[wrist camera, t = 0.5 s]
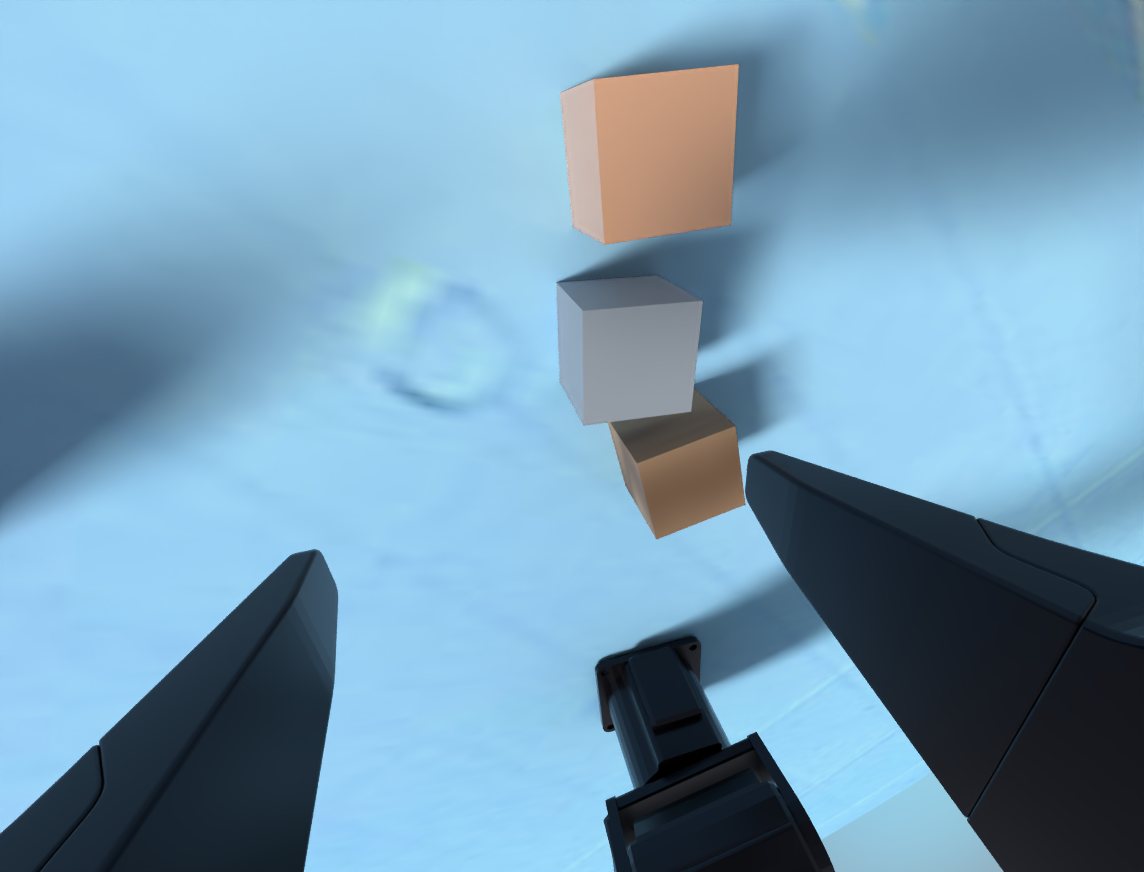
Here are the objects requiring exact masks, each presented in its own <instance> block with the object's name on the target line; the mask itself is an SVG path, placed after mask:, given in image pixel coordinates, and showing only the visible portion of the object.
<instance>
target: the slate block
mask: <svg viewBox="0 0 1144 872" xmlns="http://www.w3.org/2000/svg"><path fill="white" fill-rule="evenodd" d="M556 283H557V315H558V348H559V380H560V383H561V385H562V387H563V389H564V391H565V393H566V394H567V396H568V398H569V400H570V402H571V403H572V405H573V407H574V409H575V411H576V413H577V414H578V416H579V418H580V420H581V422H582V424H583V425H591V424H599V423H607V422H615V421H622V420H630V419H638V418H646V417H654V416H661V415H669V414H677V413H685V412H691V408H692V398H693V389H694V380H695V371H696V362H697V352H698V343H699V334H700V325H701V315H702V306H703V300H701V299H699V298H697V297H696V296H694V295H692V294H690V293H689V292H687V291H685V290H683V289H682V288H680V287H678V286H676V285H674V284H673V283H671V282H669V281H667V280H666V279H664V278H662V277H660V276H659V275H651V276H637V277H623V278H609V279H596V280H582V281H568V282H556Z"/></svg>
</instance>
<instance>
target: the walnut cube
mask: <svg viewBox="0 0 1144 872" xmlns="http://www.w3.org/2000/svg"><path fill="white" fill-rule="evenodd" d="M608 425H609V428H610V432H611V435H612V439H613V443H614V446H615V450H616V453H617V457H618V460H619V464H620V467H621V471H622V474H623V478H624V482H625V485H626V487H627V489H628V491H629V493H630V494H631V496H632V498H633V499H634V501H635V503H636V505H637V506H638V508H639V510H640V512H641V513H642V515H643V517H644V519H645V520H646V522H647V524H648V525H649V527H650V529H651V531H652V532H653V534H654V536H655V538H656V539H659V538H661V537H664V536H666V535H669V534H671V533H674V532H676V531H679V530H682V529H684V528H687V527H689V526H692V525H694V524H697V523H699V522H702V521H704V520H707V519H710V518H712V517H715V516H717V515H720V514H722V513H725V512H727V511H730V510H732V509H735V508H738V507H740V506H743V505H745V498H744V490H743V482H742V474H741V465H740V457H739V449H738V441H737V433H736V426H735V425H734V424H733V423H732V422H731V421H730V420H729V419H727V418H726V417H725V416H724V415H723V414H722V413H721V412H720V411H719V410H718V409H717V408H715V407H714V406H713V405H712V404H711V403H710V402H709V401H708V400H707V399H706V398H704V397H703V396H702V395H701V394H700V393H699V392H698V391H697V390H696V389H695V388H694V389H693V398H692V408H691V412H685V413H677V414H669V415H661V416H654V417H646V418H638V419H630V420H622V421H615V422H608Z"/></svg>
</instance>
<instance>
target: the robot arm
mask: <svg viewBox="0 0 1144 872" xmlns="http://www.w3.org/2000/svg"><path fill="white" fill-rule="evenodd" d="M745 494H746V499H747V501H748V503H749V505H750V507H751V509H752V511H753V512H754V514H755V516H756V518H757V519H758V521H759V523H760V525H761V526H762V528H763V530H764V532H765V533H766V535H767V537H768V539H769V541H770V542H771V544H772V546H773V548H774V549H775V551H776V553H777V555H778V556H779V558H780V560H781V561H782V563H783V565H784V566H785V568H786V569H787V571H788V572H789V574H790V575H791V577H792V578H793V579H794V581H795V582H796V584H797V585H798V586H799V588H800V589H801V591H802V592H803V593H804V595H805V596H806V597H807V599H808V600H809V602H810V603H811V604H812V606H813V607H814V609H815V610H816V611H817V613H818V614H819V615H820V617H821V618H822V620H823V621H824V622H825V624H826V625H827V627H828V628H829V629H830V631H831V632H832V634H833V635H834V636H835V638H836V639H837V640H838V642H839V643H840V645H841V646H842V647H843V649H844V650H845V652H846V653H847V654H848V656H849V657H850V658H851V660H852V661H853V663H854V664H855V665H856V667H857V668H858V670H859V671H860V672H861V674H862V675H863V677H864V678H865V679H866V681H867V682H868V683H869V685H870V686H871V688H872V689H873V690H874V692H875V693H876V695H877V696H878V697H879V699H880V700H881V701H882V703H883V704H884V706H885V707H886V708H887V710H888V711H889V713H890V714H891V715H892V717H893V718H894V719H895V721H896V722H897V724H898V725H899V726H900V728H901V729H902V731H903V732H904V733H905V735H906V736H907V738H908V739H909V740H910V742H911V743H912V744H913V746H914V747H915V749H916V750H917V751H918V753H919V754H920V756H921V757H922V758H923V760H924V761H925V762H926V764H927V765H928V767H929V768H930V769H931V771H932V772H933V774H934V775H935V776H936V778H937V779H938V780H939V782H940V783H941V785H942V786H943V787H944V789H945V790H946V792H947V793H948V794H949V796H950V797H951V799H952V800H953V801H954V803H955V804H956V805H957V807H958V808H959V810H960V811H961V812H962V814H963V815H964V816H965V817H968V819H967V821H968V823H969V824H970V825H971V827H972V828H973V830H974V831H975V832H976V834H977V835H978V836H979V838H980V839H981V841H982V842H983V843H984V845H985V846H986V848H987V849H988V850H989V852H990V853H991V855H992V856H993V857H994V859H995V860H996V862H997V863H998V864H999V866H1000V867H1001V868H1002V870H1003V871H1004V872H1144V566H1140V565H1137V564H1133V563H1129V562H1126V561H1122V560H1118V559H1115V558H1111V557H1108V556H1104V555H1100V554H1097V553H1093V552H1089V551H1086V550H1082V549H1079V548H1075V547H1072V546H1068V545H1065V544H1061V543H1058V542H1054V541H1051V540H1047V539H1044V538H1041V537H1038V536H1034V535H1031V534H1028V533H1025V532H1022V531H1018V530H1015V529H1012V528H1009V527H1006V526H1003V525H1000V524H996V523H993V522H990V521H987V520H984V519H981V518H978V519H976V518H975V517H974V516H972V515H969V514H966V513H963V512H959V511H956V510H953V509H950V508H947V507H944V506H941V505H938V504H935V503H932V502H929V501H926V500H923V499H920V498H916V497H913V496H910V495H907V494H904V493H901V492H898V491H895V490H892V489H889V488H886V487H883V486H880V485H877V484H873V483H870V482H867V481H864V480H861V479H858V478H855V477H852V476H849V475H846V474H843V473H840V472H837V471H834V470H831V469H827V468H824V467H821V466H818V465H815V464H812V463H809V462H806V461H803V460H800V459H797V458H794V457H791V456H788V455H785V454H781V453H778V452H775V451H765V452H760V453H756V454H752V455H751V456H750V457H749V459H748V465H747V476H746V486H745ZM337 613H338V592H337V587H336V584H335V581H334V579H333V577H332V575H331V572H330V570H329V568H328V565H327V563H326V561H325V559H324V556H323V555H322V553H321V552H320V551H319V550H316V549H313V550H308V551H304V552H299V553H295V554H292V555H290V556H289V557H288V558H287V559H286V560H285V561H284V562H283V563H282V564H281V565H280V566H279V567H278V568H277V569H276V570H274V571H273V572H272V573H271V574H270V575H269V576H268V577H267V578H266V579H265V580H264V581H263V582H262V583H261V584H260V585H259V586H258V587H257V588H256V589H255V590H254V591H253V592H252V593H251V594H250V595H249V596H248V597H247V598H246V599H245V600H244V601H243V602H241V603H240V604H239V605H238V606H237V607H236V608H235V609H234V610H233V611H232V612H231V613H230V614H229V615H228V616H227V617H226V618H225V619H224V620H223V621H222V622H221V623H220V624H219V625H218V626H217V627H216V628H215V629H214V630H213V631H212V632H211V633H210V634H208V635H207V636H206V637H205V638H204V639H203V640H202V641H201V642H200V643H199V644H198V645H197V646H196V647H195V648H194V649H193V650H192V651H191V652H190V653H189V654H188V655H187V656H186V657H185V658H184V659H183V660H182V661H181V662H180V663H179V664H178V665H177V666H175V667H174V668H173V669H172V670H171V671H170V672H169V673H168V674H167V675H166V676H165V677H164V678H163V679H162V680H161V681H160V682H159V683H158V684H157V685H156V686H155V687H154V688H153V689H152V690H151V691H150V692H149V693H148V694H147V695H146V696H145V697H143V698H142V699H141V700H140V701H139V702H138V703H137V704H136V705H135V706H134V707H133V708H132V709H131V710H130V711H129V712H128V713H127V714H126V715H125V716H124V717H123V718H122V719H121V720H120V721H119V722H118V723H117V724H116V725H115V726H114V727H112V728H111V729H110V730H109V731H108V732H107V733H106V734H105V735H104V736H103V737H102V738H101V739H100V741H99V745H95V746H93V747H92V748H91V749H90V750H89V751H88V752H87V753H85V754H84V755H83V756H82V757H81V758H80V759H79V760H78V761H77V762H76V763H75V764H74V765H73V766H72V767H71V768H70V769H69V770H68V771H67V772H66V773H65V774H64V775H63V776H62V777H61V778H60V779H59V780H57V781H56V782H55V783H54V784H53V785H52V786H51V787H50V788H49V789H48V790H47V791H46V792H45V793H44V794H43V795H42V796H40V797H39V798H38V799H37V800H36V801H35V802H34V803H33V804H32V805H31V806H30V807H29V808H28V809H27V810H26V811H25V812H23V813H22V814H21V815H20V816H19V817H18V818H17V819H16V820H15V821H14V822H13V823H12V824H10V825H9V826H8V827H7V828H6V829H5V830H4V831H3V832H2V833H0V872H304V867H305V861H306V855H307V849H308V843H309V837H310V831H311V824H312V818H313V812H314V806H315V800H316V794H317V788H318V782H319V776H320V770H321V764H322V757H323V751H324V745H325V739H326V733H327V727H328V721H329V715H330V709H331V703H332V696H333V689H334V679H335V661H336V637H337ZM700 657H701V644H700V642H699V640H698V638H697V637H694V636H693V637H688V638H685V639H681V640H678V641H674V642H670V643H667V644H663V645H660V646H656V647H653V648H649V649H646V650H642V651H639V652H635V653H632V654H628V655H624V656H621V657H617V658H614V659H610V660H607V661H603V662H601V663H599V664H597V665H596V667H595V675H596V683H597V691H598V699H599V707H600V715H601V722H602V726H603V729H604V731H606V732H611V731H614V730H615V731H616V734H617V737H618V740H619V743H620V746H621V750H622V753H623V756H624V759H625V762H626V765H627V768H628V772H629V775H630V778H631V781H632V784H633V787H634V790H632V791H630V792H627V793H625V794H623V795H621V796H619V797H615V796H614V797H612V798H609V799H607V800H606V806H607V811H608V815H607V817H606V818H605V819H604V824H605V828H606V832H607V836H608V840H609V844H610V848H611V852H612V858H613V865H614V872H835V871H834V868H833V865H832V863H831V861H830V858H829V856H828V854H827V852H826V849H825V847H824V845H823V843H822V842H821V839H820V837H819V835H818V833H817V831H816V829H815V827H814V826H813V824H812V822H811V820H810V818H809V816H808V815H807V813H806V811H805V809H804V808H803V806H802V804H801V803H800V801H799V799H798V798H797V796H796V794H795V793H794V791H793V790H792V788H791V786H790V785H789V783H788V782H787V780H786V778H785V777H784V775H783V774H782V772H781V770H780V769H779V767H778V766H777V764H776V762H775V761H774V759H773V758H772V756H771V754H770V753H769V751H768V750H767V748H766V746H765V745H764V743H763V742H762V740H761V738H760V737H759V735H758V734H757V732H755V733H753V734H750V735H748V736H747V738H746V739H744V740H742V741H740V742H738V743H735V744H733V745H731V744H730V742H729V740H728V738H727V736H726V734H725V732H724V730H723V728H722V726H721V724H720V722H719V720H718V718H717V716H716V714H715V712H714V710H713V708H712V706H711V704H710V703H709V701H708V699H707V697H706V695H705V693H704V691H703V689H702V687H701V685H700Z"/></svg>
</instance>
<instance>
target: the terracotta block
mask: <svg viewBox="0 0 1144 872" xmlns="http://www.w3.org/2000/svg"><path fill="white" fill-rule="evenodd" d="M738 71H739V64H734V65H725V66H715V67H705V68H696V69H686V70H676V71H667V72H657V73H648V74H638V75H628V76H619V77H609V78H600V79H592V80H590V81H588V82H585V83H583V84H580V85H578V86H575V87H573V88H571V89H568V90H566V91H563V92H561V93H560V97H561V108H562V118H563V129H564V139H565V150H566V160H567V171H568V181H569V192H570V203H571V213H572V224H573V227H574V228H576V229H578V230H579V231H581V232H583V233H585V234H586V235H588V236H590V237H592V238H594V239H595V240H597V241H599V242H601V243H603V244H604V245H605V244H611V243H618V242H624V241H631V240H637V239H643V238H650V237H656V236H663V235H669V234H676V233H682V232H688V231H695V230H701V229H708V228H714V227H721V226H727V225H731V208H732V189H733V169H734V149H735V130H736V110H737V90H738Z"/></svg>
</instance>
